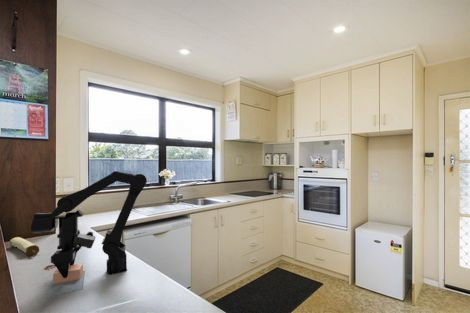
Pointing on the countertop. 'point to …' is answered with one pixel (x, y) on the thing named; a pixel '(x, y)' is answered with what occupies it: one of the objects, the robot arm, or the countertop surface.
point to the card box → (69, 274)
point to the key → (50, 267)
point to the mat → (65, 286)
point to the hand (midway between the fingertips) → (68, 272)
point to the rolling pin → (25, 246)
